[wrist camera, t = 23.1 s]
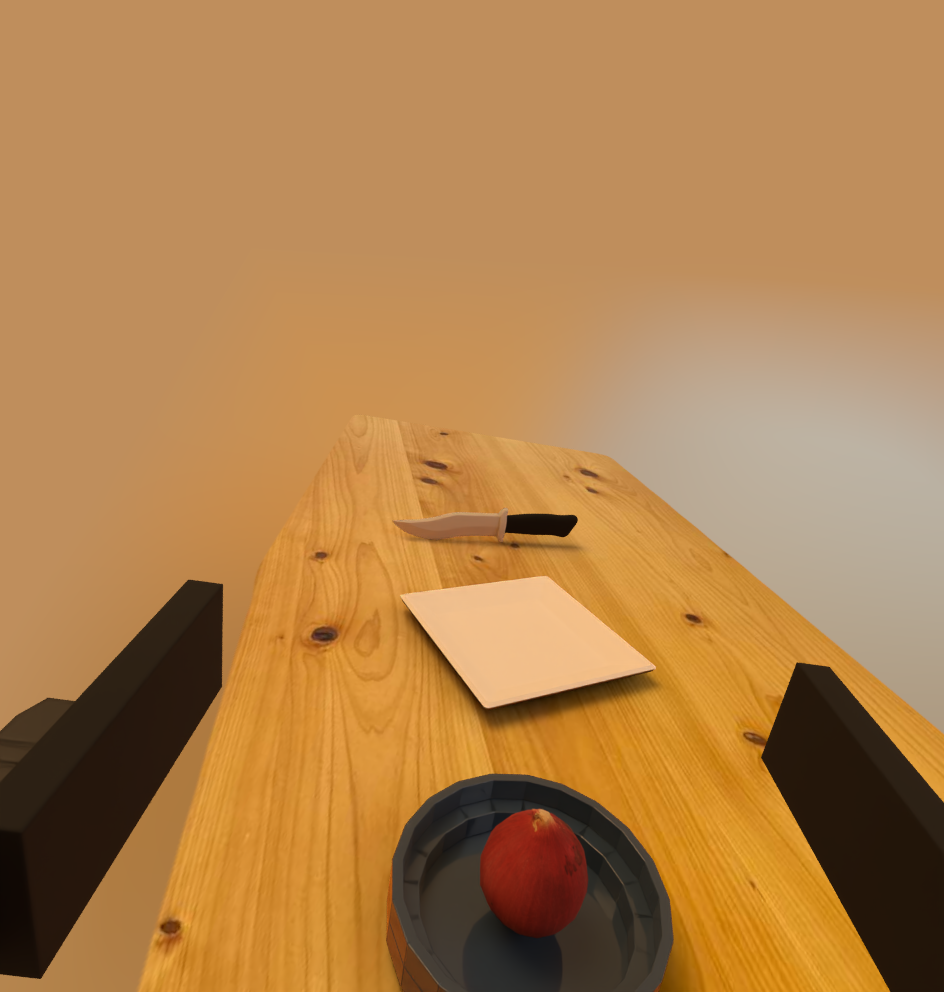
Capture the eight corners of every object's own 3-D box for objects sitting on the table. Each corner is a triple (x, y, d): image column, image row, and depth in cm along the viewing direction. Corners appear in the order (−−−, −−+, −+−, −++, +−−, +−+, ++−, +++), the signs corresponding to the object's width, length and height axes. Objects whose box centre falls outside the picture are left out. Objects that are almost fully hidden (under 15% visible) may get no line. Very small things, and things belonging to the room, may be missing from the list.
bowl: (342, 1031, 31) (347, 974, 29) (427, 795, 45) (433, 749, 44) (664, 1140, 29) (687, 1084, 27) (647, 856, 43) (661, 809, 41)
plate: (482, 727, 52) (486, 706, 52) (397, 610, 67) (399, 592, 67) (653, 684, 61) (658, 665, 60) (544, 589, 76) (547, 573, 76)
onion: (544, 864, 40) (568, 762, 37) (592, 955, 35) (625, 845, 32) (457, 886, 38) (476, 780, 35) (495, 987, 33) (521, 872, 30)
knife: (391, 539, 83) (394, 503, 82) (390, 534, 85) (394, 498, 83) (573, 549, 89) (580, 516, 87) (569, 544, 90) (576, 511, 89)
